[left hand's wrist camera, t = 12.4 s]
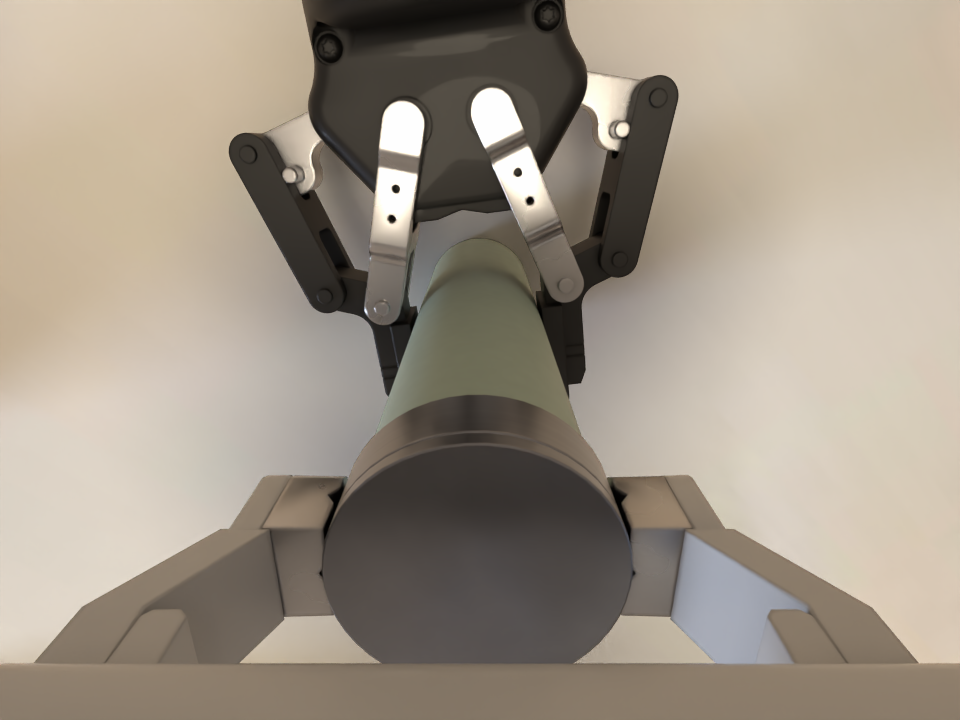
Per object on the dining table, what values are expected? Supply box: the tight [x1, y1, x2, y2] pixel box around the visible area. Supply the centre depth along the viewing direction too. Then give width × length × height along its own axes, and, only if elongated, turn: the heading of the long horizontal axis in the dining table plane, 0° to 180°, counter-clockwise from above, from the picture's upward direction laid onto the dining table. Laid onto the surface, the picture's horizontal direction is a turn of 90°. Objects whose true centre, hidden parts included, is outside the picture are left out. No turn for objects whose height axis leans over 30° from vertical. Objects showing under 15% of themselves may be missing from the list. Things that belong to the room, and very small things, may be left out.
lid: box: [322, 395, 633, 664], centre depth 9 cm, size 5×5×2 cm
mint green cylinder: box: [375, 239, 581, 435], centre depth 18 cm, size 4×4×18 cm
